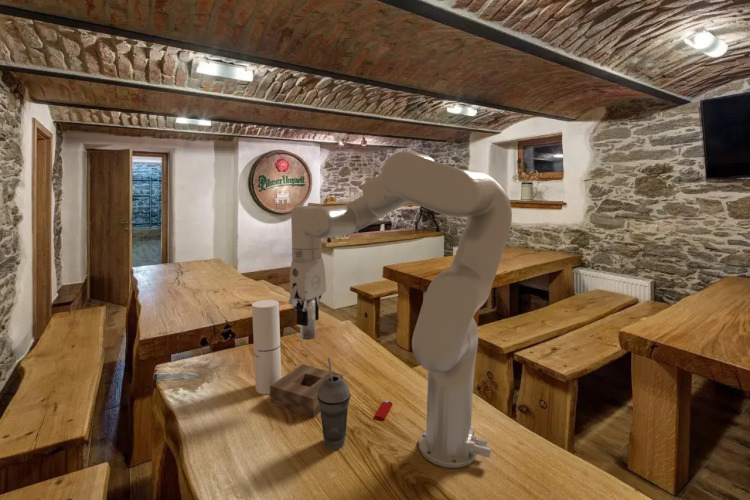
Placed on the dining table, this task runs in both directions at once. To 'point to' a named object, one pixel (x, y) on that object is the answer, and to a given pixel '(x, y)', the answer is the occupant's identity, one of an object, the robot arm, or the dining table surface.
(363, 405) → the dining table surface
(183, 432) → the dining table surface
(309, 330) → the steel peg
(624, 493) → the dining table surface
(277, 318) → the cylindrical container
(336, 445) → the beverage cup
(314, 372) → the walnut socket block
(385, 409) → the lighter
